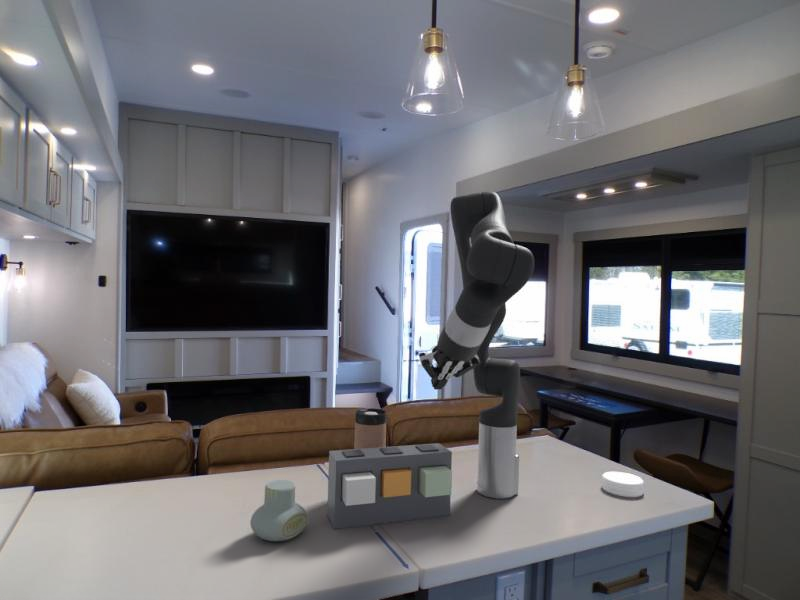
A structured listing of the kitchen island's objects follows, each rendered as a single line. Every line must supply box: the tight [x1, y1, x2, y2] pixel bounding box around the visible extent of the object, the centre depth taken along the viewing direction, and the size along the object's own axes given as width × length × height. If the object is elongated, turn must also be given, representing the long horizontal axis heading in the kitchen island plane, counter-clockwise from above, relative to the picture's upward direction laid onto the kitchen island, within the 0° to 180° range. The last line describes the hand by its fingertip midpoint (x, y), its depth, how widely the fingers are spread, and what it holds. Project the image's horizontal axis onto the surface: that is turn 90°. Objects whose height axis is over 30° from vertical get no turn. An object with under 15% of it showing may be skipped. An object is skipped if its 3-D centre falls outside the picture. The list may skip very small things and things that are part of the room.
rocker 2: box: [418, 465, 453, 497], centre depth 112 cm, size 6×7×5 cm
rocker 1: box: [341, 471, 376, 506], centre depth 106 cm, size 6×7×5 cm
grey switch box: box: [326, 443, 453, 530], centre depth 112 cm, size 26×7×14 cm, turn 109°
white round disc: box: [601, 471, 645, 498], centre depth 132 cm, size 10×10×4 cm
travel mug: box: [353, 408, 387, 449], centre depth 124 cm, size 8×8×20 cm
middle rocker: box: [380, 468, 411, 497], centre depth 111 cm, size 6×7×5 cm
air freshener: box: [249, 479, 308, 542], centre depth 102 cm, size 11×8×10 cm
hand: (436, 385), depth 105 cm, fingers closed
